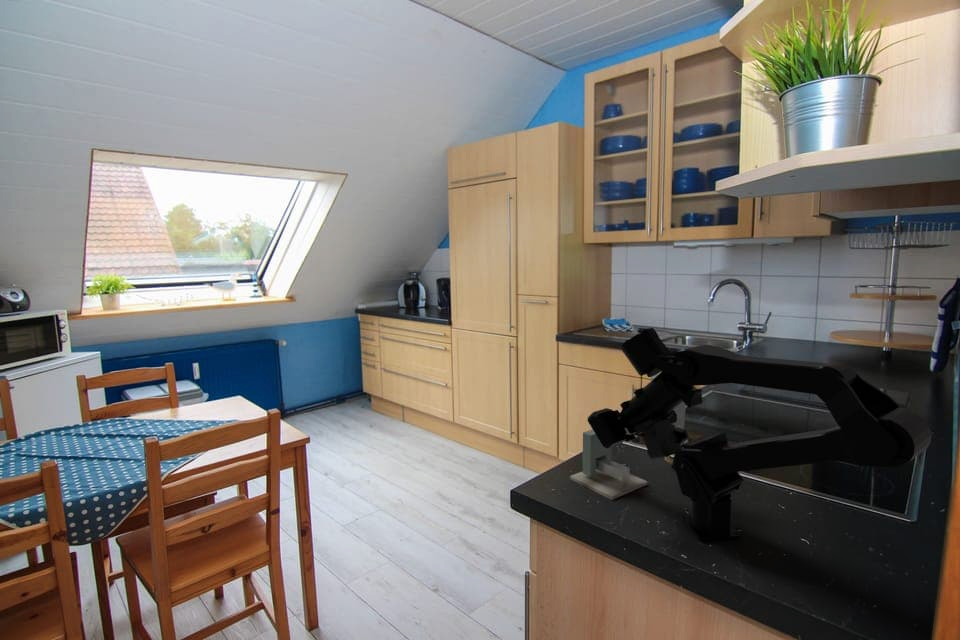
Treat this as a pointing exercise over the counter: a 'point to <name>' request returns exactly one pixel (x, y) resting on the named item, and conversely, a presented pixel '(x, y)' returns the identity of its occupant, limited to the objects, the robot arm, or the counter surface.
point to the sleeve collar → (593, 452)
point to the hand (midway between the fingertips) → (608, 441)
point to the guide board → (608, 484)
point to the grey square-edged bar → (613, 470)
